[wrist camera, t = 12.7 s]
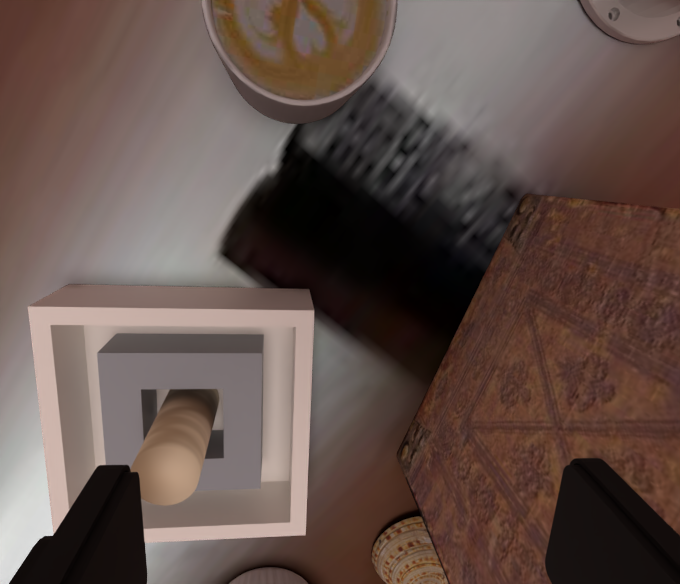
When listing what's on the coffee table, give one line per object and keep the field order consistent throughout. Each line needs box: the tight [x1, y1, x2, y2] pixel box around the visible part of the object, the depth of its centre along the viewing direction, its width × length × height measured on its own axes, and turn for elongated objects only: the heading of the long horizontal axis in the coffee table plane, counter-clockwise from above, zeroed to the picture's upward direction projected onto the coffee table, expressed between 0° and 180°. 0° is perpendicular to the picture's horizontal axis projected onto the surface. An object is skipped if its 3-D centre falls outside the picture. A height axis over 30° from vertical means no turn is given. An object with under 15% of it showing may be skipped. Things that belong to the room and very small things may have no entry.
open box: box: [28, 284, 314, 543], centre depth 36 cm, size 18×18×6 cm
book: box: [397, 194, 680, 584], centre depth 27 cm, size 25×9×30 cm, turn 157°
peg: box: [130, 389, 219, 506], centre depth 33 cm, size 4×4×10 cm
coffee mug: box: [201, 0, 397, 124], centre depth 28 cm, size 13×10×10 cm
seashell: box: [372, 516, 448, 584], centre depth 45 cm, size 8×6×8 cm
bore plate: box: [97, 333, 264, 491], centre depth 36 cm, size 11×11×4 cm
